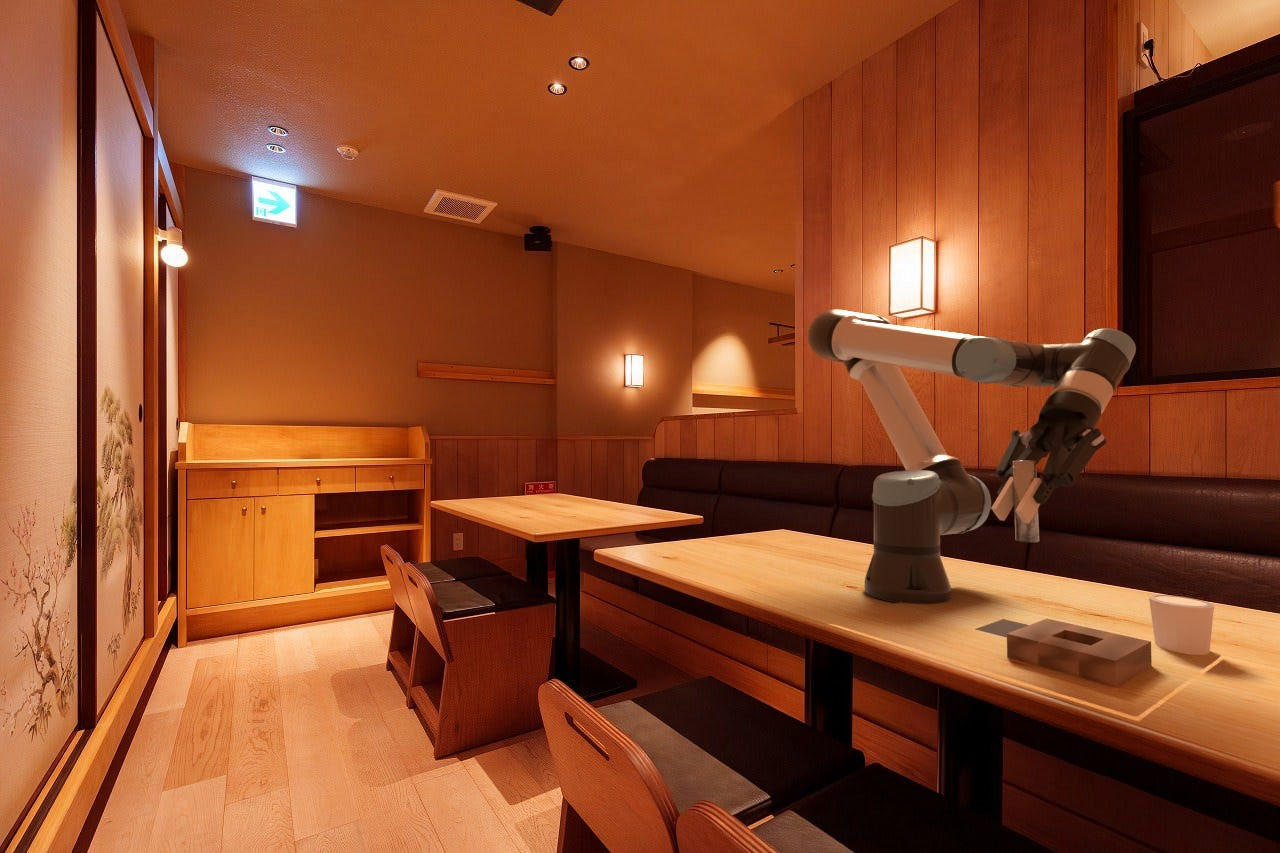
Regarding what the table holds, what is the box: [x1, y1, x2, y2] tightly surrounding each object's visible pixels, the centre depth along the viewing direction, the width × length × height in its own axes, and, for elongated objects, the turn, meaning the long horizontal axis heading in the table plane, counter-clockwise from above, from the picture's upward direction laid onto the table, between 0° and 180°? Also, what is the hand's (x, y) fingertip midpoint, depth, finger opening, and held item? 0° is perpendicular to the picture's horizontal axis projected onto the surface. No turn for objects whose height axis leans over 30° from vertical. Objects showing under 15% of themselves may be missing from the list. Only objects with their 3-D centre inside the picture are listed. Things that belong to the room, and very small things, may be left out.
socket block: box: [1006, 618, 1153, 688], centre depth 79 cm, size 12×12×4 cm
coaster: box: [975, 618, 1029, 638], centre depth 91 cm, size 9×9×1 cm
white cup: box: [1148, 594, 1215, 656], centre depth 84 cm, size 7×7×7 cm
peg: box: [1013, 460, 1040, 543], centre depth 90 cm, size 3×3×12 cm
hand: (1009, 515), depth 88 cm, fingers closed on peg, 3 cm apart
